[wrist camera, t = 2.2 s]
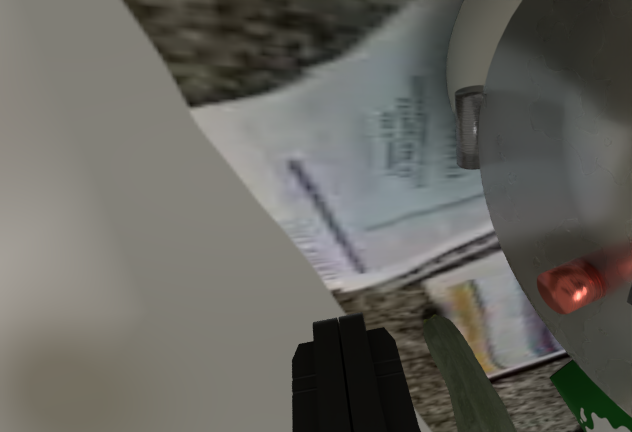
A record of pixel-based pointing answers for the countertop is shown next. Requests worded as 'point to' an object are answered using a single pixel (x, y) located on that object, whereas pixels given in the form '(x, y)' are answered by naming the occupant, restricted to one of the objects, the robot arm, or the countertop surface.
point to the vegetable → (465, 380)
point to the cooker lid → (563, 173)
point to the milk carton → (589, 402)
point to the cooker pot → (475, 42)
